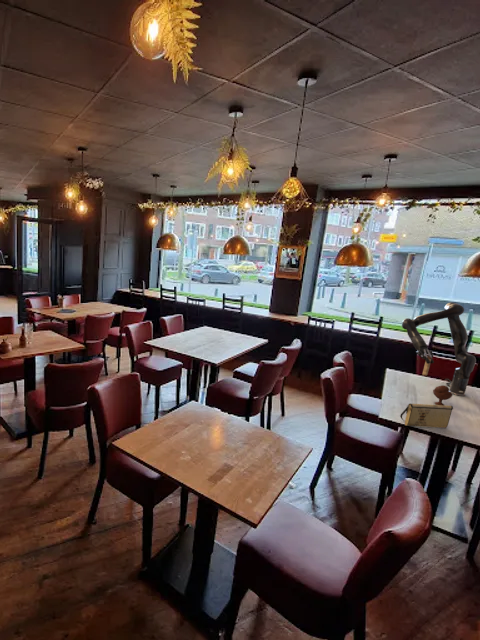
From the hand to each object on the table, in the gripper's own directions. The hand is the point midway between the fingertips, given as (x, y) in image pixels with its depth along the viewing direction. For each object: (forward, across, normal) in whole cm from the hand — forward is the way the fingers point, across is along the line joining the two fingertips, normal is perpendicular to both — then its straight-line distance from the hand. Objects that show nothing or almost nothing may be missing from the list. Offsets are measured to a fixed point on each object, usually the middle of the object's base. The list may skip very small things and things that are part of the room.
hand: (430, 363), depth 250 cm
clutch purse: (+44, -44, -4) cm, 62 cm away
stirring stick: (+6, 0, +8) cm, 10 cm away
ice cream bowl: (+28, +2, +12) cm, 30 cm away
